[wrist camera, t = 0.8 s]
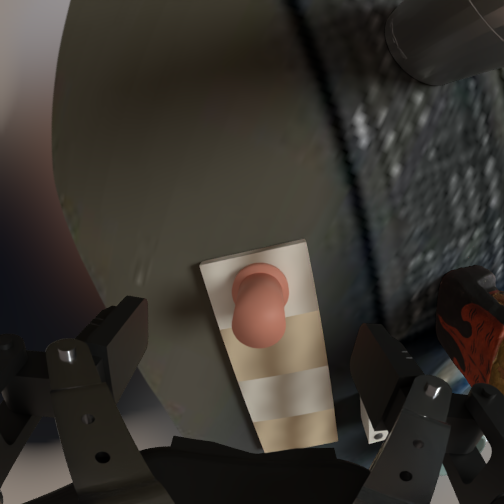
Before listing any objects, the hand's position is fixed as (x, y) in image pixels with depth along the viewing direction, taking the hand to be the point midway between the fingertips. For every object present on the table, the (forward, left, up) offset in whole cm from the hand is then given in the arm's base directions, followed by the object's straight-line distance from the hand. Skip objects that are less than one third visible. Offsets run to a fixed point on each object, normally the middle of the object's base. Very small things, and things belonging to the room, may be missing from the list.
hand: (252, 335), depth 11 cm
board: (+1, +16, -19) cm, 25 cm away
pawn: (+1, +6, -18) cm, 19 cm away
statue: (-21, +13, -19) cm, 31 cm away
